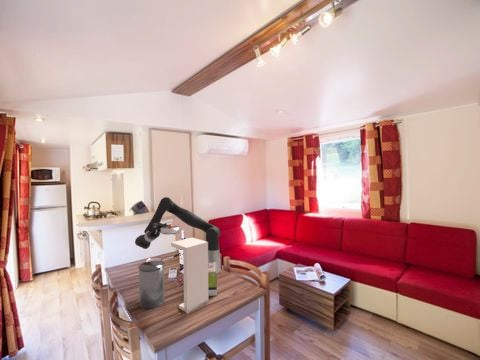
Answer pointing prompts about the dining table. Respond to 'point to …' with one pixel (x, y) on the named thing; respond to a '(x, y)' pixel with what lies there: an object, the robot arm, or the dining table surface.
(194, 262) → the white bookcase side
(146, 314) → the dining table surface
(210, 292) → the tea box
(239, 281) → the dining table surface
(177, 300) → the dining table surface
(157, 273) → the grey glass jar
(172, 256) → the frying pan
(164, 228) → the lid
